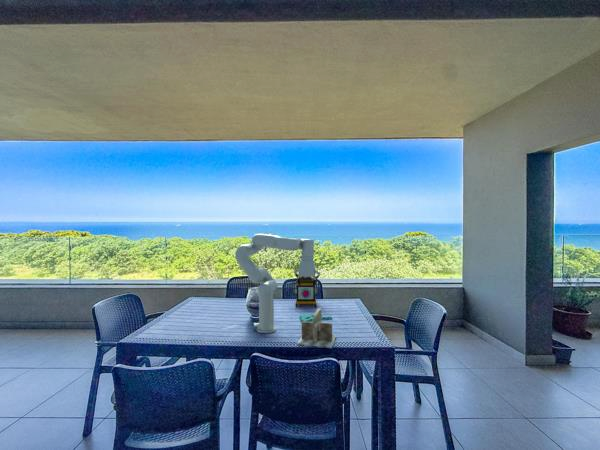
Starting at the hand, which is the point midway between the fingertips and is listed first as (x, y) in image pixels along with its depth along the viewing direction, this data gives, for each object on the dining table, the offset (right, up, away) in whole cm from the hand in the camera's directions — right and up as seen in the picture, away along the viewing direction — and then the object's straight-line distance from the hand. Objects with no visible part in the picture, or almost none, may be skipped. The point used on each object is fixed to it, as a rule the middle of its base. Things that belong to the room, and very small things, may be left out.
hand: (306, 285), depth 205 cm
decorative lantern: (+1, -31, +72) cm, 78 cm away
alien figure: (+5, -31, +30) cm, 43 cm away
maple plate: (+6, -29, -13) cm, 33 cm away
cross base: (+6, -31, -14) cm, 34 cm away
